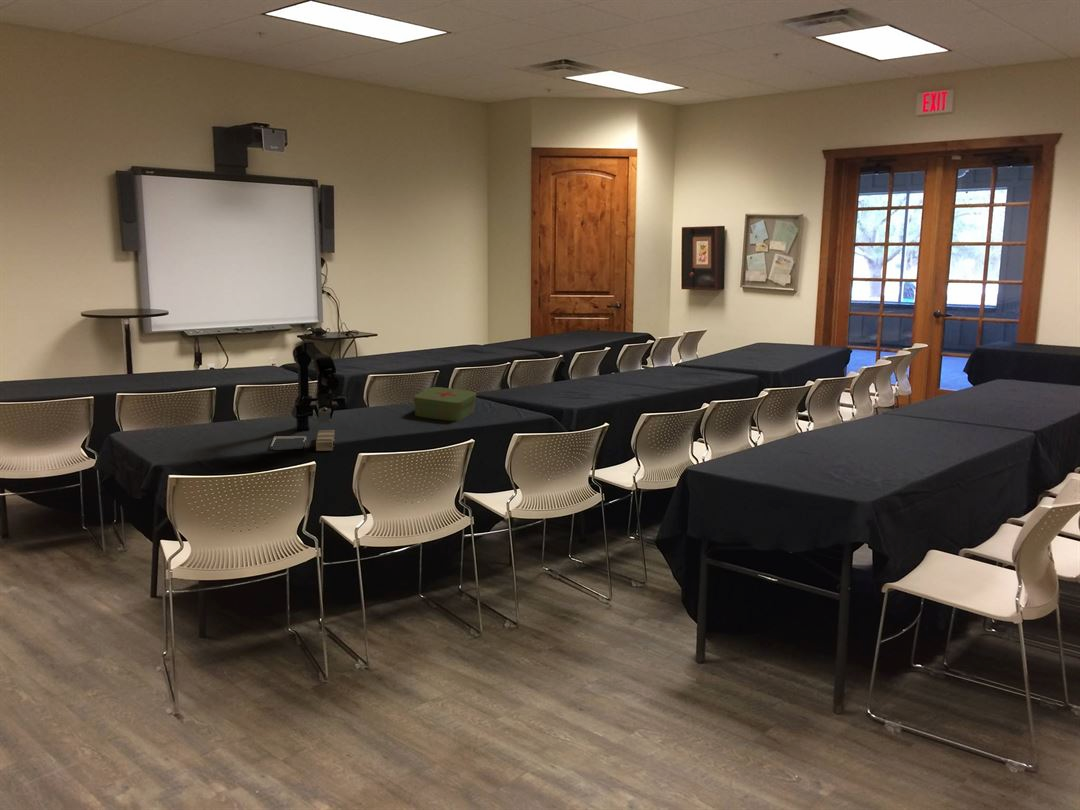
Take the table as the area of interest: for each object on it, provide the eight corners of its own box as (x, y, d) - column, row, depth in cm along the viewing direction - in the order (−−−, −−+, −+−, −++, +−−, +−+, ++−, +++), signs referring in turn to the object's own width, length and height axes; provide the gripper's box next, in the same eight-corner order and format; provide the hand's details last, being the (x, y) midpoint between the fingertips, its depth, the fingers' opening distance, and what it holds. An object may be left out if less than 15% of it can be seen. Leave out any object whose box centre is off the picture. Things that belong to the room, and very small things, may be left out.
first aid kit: (410, 416, 447) (410, 397, 445) (432, 404, 471) (433, 386, 469) (458, 422, 439) (458, 403, 437) (478, 410, 463) (478, 391, 461)
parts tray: (274, 439, 398) (274, 436, 398) (306, 439, 401) (306, 436, 400) (270, 450, 383) (270, 447, 383) (303, 450, 385) (303, 446, 385)
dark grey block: (319, 418, 395) (319, 406, 393) (330, 418, 396) (330, 406, 394) (318, 422, 388) (318, 410, 387) (330, 422, 389) (329, 410, 388)
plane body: (318, 438, 403) (318, 430, 402) (334, 438, 404) (334, 430, 403) (316, 450, 386) (315, 441, 384) (332, 450, 387) (332, 441, 386)
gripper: (300, 389, 378) (301, 424, 382) (345, 389, 382) (345, 423, 386) (302, 383, 389) (303, 417, 393) (346, 383, 392) (346, 417, 396)
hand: (324, 418), depth 392 cm, fingers closed on dark grey block, 5 cm apart
